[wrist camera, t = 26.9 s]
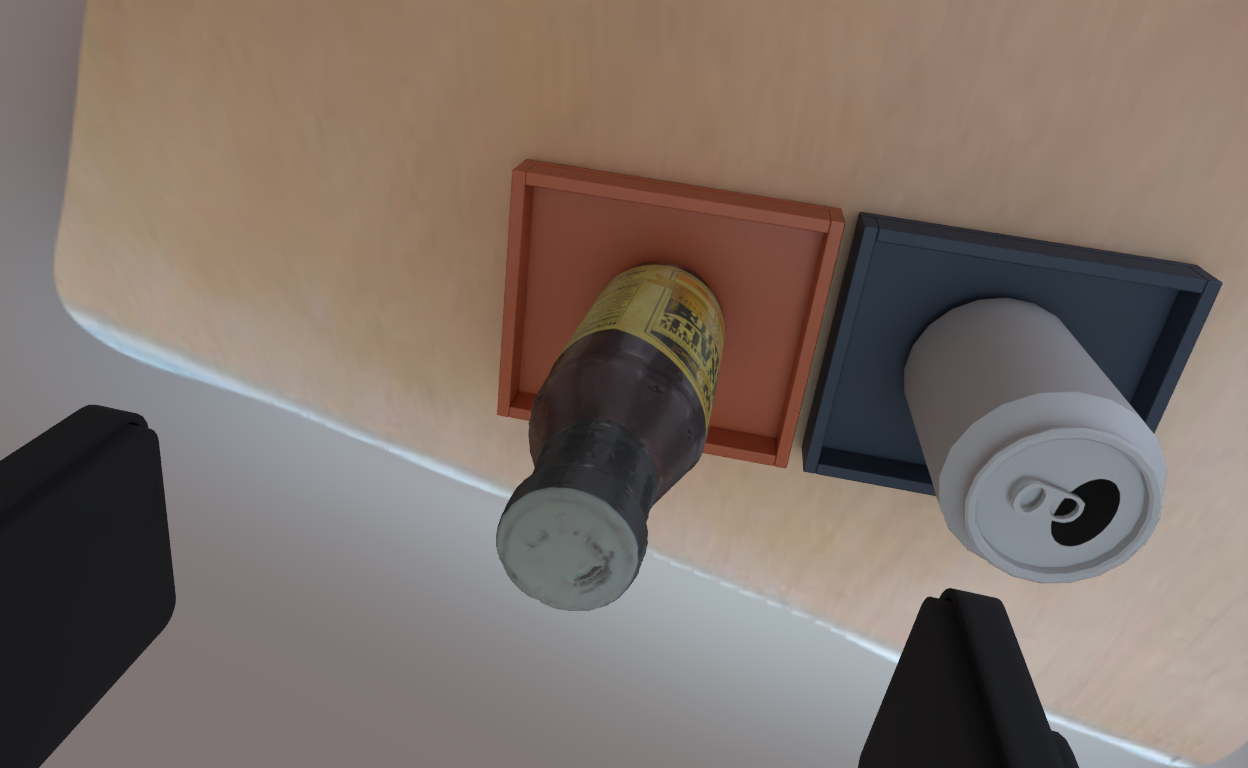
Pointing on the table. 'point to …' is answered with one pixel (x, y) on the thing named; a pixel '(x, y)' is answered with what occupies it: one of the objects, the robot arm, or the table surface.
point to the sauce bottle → (613, 436)
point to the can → (1031, 444)
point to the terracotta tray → (686, 236)
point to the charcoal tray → (963, 273)
